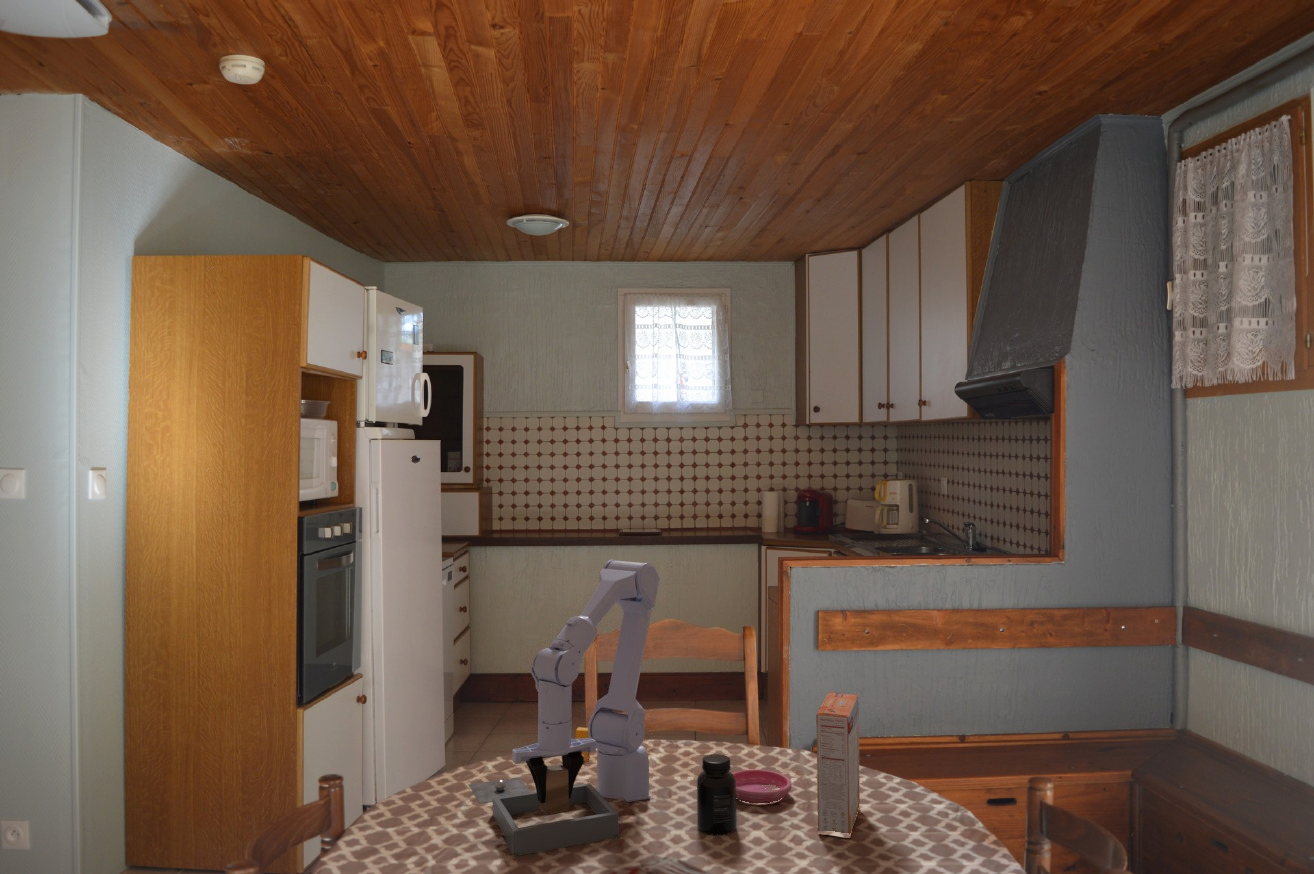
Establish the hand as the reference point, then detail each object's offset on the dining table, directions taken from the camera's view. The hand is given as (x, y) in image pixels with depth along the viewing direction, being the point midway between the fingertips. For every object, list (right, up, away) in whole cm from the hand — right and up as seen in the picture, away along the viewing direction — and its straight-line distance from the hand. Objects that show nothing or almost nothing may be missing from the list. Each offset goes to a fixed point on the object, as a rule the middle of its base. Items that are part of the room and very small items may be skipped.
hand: (554, 798), depth 152 cm
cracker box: (+50, -6, +3) cm, 50 cm away
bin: (0, -5, 0) cm, 5 cm away
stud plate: (-12, -5, +15) cm, 20 cm away
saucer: (+37, -6, +15) cm, 40 cm away
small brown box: (0, -2, 0) cm, 2 cm away
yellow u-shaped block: (0, -6, +30) cm, 31 cm away
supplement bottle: (+28, -6, +1) cm, 29 cm away
